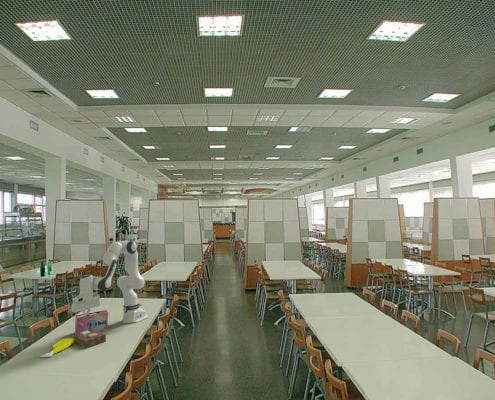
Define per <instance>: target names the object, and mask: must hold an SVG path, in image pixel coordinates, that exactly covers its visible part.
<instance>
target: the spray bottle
mask: <svg viewBox="0 0 495 400" xmlns="http://www.w3.org/2000/svg"><path fill="white" fill-rule="evenodd" d="M74 342H75V339H74V338H72V337H71V338H70V337H69V338H68V337H67V338H63V339H60V340H59V341H57V342H56V343H54V344H53V345H52V350H50V352H45V354H42V355H39V357H40V358H51V357H53V355H54V354H57V353H59V352H61V351H64V350H66V349H68V348H69V347H70V346H72V345H73V344H75V343H74Z"/></svg>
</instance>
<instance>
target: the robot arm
mask: <svg viewBox="0 0 495 400" xmlns="http://www.w3.org/2000/svg"><path fill="white" fill-rule="evenodd" d="M121 254H124V255H125V256H124V271H125V272H127V273H128V275H122V276H118V278H117V281H116V285H117V287H118V288H120V290H121V292H122V295H123V304H122V305H123V306H122V307H123V309H122V310H123V313H122V319H121V323H123V324H131V323H132V324H133V323H134V324H136V323H140V322H141V321H144V320H146V319H147V318H149V315H147V314H146V311H145V310H144V309H142V307H141V306H142V303H138V293H136V292H135V291H134V290H138V289H142V288H143V287H144V286H145V283H146V282H145V278H144V277H143V276H142V275H141V273H140V271H139V255H138V244H137V242H136V241H134V240H117V241H113V242H112V243H111V244H110V245H109V246H108V248H107V249H106V251H105V252H104V254H103V257H102V260H103V262H104V263H105V264H107V266H108V268H107V270H106V273H105V276H103V277H102V276H95V275H92V274H91V273H87V274H83V275H82V276H81V277H80V278H79V279H80V280H79V294H78V295H76V296H75V297H73V298H72V302H71V308H70V309H71V313H74V314H75V313H80V312H82V314H84V316H86V315H89V313H90V312H91V309H94V308H96V307H97V308H98V307H99V306H101V299H100V298H101V296H100V294H98V293H95V294H94V291H101V292H106V291H108V290H110V288H112V287H111V286H112V282H113V279H114V277H115V273H116V272H117V269H118V266H119V261H118V260H119V257H120V255H121ZM93 290H94V291H93ZM86 310H87V311H86Z"/></svg>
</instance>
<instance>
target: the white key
mask: <svg viewBox="0 0 495 400" xmlns="http://www.w3.org/2000/svg"><path fill="white" fill-rule="evenodd" d="M90 333H91V332H90V331H88V330H87V331H84V332H80V334H81V335H87V334H90Z"/></svg>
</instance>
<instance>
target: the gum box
mask: <svg viewBox="0 0 495 400" xmlns="http://www.w3.org/2000/svg"><path fill="white" fill-rule="evenodd" d="M108 318H109V312H108V310H106V309H105V310H100V311H94V312H89V315H86V316H84V313H82V314H81V313H80V314H77V315H76V314H75V318H74V319H75V320H74V324H75V325H74V328H75V329H74V331H75V332H74V334H77V333H80V332H84V331H87V330H90V329H92V330H95V331H98V332H101V331H105V330H108V322H109V321H108V320H109V319H108Z"/></svg>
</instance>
